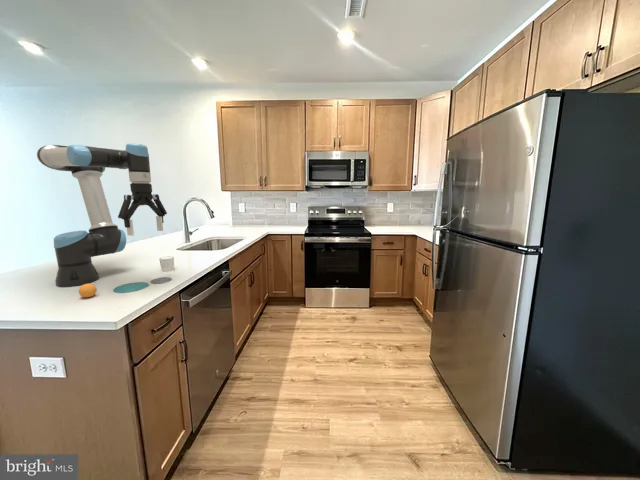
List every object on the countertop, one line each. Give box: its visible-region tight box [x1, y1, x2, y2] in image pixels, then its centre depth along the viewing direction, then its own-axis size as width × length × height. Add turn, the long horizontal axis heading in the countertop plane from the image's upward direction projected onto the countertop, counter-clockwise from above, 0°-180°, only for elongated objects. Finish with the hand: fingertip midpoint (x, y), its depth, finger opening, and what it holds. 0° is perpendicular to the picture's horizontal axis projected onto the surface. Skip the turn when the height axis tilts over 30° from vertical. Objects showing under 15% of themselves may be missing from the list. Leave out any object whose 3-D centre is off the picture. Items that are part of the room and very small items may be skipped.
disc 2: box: [149, 276, 173, 285], centre depth 127 cm, size 9×9×1 cm
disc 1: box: [112, 281, 149, 294], centre depth 118 cm, size 13×13×1 cm
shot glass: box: [158, 256, 175, 273], centre depth 143 cm, size 7×7×7 cm
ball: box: [78, 283, 98, 298], centre depth 107 cm, size 6×6×6 cm
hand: (146, 232), depth 115 cm, fingers open, 13 cm apart
